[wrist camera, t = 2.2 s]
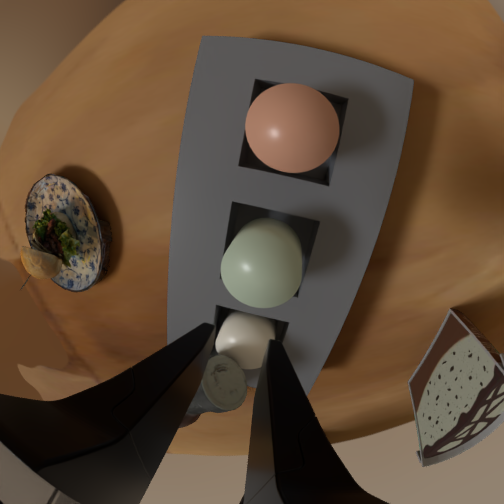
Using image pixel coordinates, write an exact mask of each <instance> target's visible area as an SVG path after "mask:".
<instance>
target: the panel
mask: <svg viewBox="0 0 504 504" xmlns="http://www.w3.org/2000/svg"><path fill="white" fill-rule="evenodd" d="M286 83H296V84H302V85H306V86H309V87H311V88H313V89H315V90H317V91H318V92H320V93H321V94H322V95H324V96H325V97H326V98H327V99H328V101H329V102H330V103H331V104H332V106H333V108H334V109H335V112H336V114H337V117H338V121H339V138H338V142H337V145H336V147H335V149H334V151H333V153H332V154H331V155H330V157H329V158H328V159H327V160H326V161H325V162H324V163H322V164H321V165H319V166H318V167H316V168H314V169H312V170H309V171H305V172H300V173H288V172H282V171H279V170H276V169H274V168H271V167H270V166H268V165H266V164H265V163H263V162H262V161H261V160H260V159H259V158H258V157H257V156H256V155H255V153H254V152H253V151H252V149H251V147H250V145H249V143H248V140H247V137H246V131H245V123H246V117H247V113H248V110H249V108H250V106H251V105H252V103H253V102H254V100H255V99H256V98H257V97H258V96H259V95H260V94H261V93H262V92H264V91H265V90H267V89H269V88H271V87H273V86H276V85H280V84H286ZM413 85H414V80H412V79H410V78H408V77H405V76H403V75H401V74H398V73H396V72H393V71H390V70H388V69H385V68H382V67H379V66H377V65H374V64H371V63H368V62H365V61H362V60H358V59H355V58H352V57H348V56H345V55H341V54H337V53H333V52H329V51H325V50H321V49H317V48H312V47H307V46H302V45H297V44H291V43H285V42H278V41H271V40H263V39H254V38H242V37H226V36H202V39H201V43H200V47H199V51H198V55H197V60H196V64H195V69H194V73H193V78H192V83H191V87H190V92H189V98H188V103H187V108H186V114H185V120H184V126H183V132H182V138H181V145H180V152H179V159H178V167H177V175H176V183H175V192H174V202H173V212H172V224H171V237H170V252H169V271H168V302H167V345H168V344H170V343H172V342H173V341H175V340H176V339H178V338H180V337H181V336H183V335H184V334H186V333H188V332H189V331H191V330H192V329H194V328H196V327H197V326H199V325H200V324H202V323H204V322H206V323H210V324H214V325H215V326H216V331H215V338H214V345H213V348H212V351H211V354H210V357H211V356H214V355H219V354H218V352H217V350H216V339H217V337H218V334H219V332H220V329H221V327H222V325H223V322H224V320H225V317H226V315H227V313H228V311H229V310H230V309H235V310H239V311H243V312H247V313H251V314H255V315H259V316H263V317H268V318H272V319H276V321H277V331H276V338H275V340H279V341H281V342H282V344H283V346H284V348H285V350H286V352H287V354H288V357H289V359H290V361H291V363H292V365H293V368H294V370H295V372H296V374H297V376H298V378H299V381H300V383H301V385H302V387H303V389H304V391H305V393H306V396H307V395H308V393H309V392H310V390H311V388H312V386H313V384H314V382H315V381H316V379H317V377H318V375H319V373H320V371H321V369H322V367H323V365H324V363H325V361H326V359H327V357H328V355H329V353H330V351H331V349H332V347H333V345H334V343H335V341H336V339H337V337H338V335H339V332H340V330H341V328H342V326H343V324H344V321H345V319H346V317H347V315H348V312H349V310H350V308H351V305H352V303H353V301H354V298H355V296H356V293H357V291H358V289H359V286H360V283H361V281H362V278H363V276H364V273H365V271H366V268H367V265H368V263H369V260H370V257H371V254H372V252H373V249H374V246H375V243H376V240H377V237H378V234H379V231H380V228H381V225H382V222H383V218H384V215H385V212H386V209H387V205H388V202H389V198H390V195H391V191H392V188H393V184H394V180H395V176H396V173H397V169H398V164H399V160H400V156H401V152H402V147H403V142H404V138H405V133H406V128H407V122H408V117H409V111H410V105H411V99H412V92H413ZM259 218H274V219H278V220H280V221H283V222H284V223H286V224H288V225H289V226H290V227H291V228H292V229H293V230H294V231H295V232H296V234H297V235H298V237H299V240H300V243H301V248H302V279H301V283H300V286H299V288H298V290H297V292H296V293H295V294H294V296H293V297H292V298H291V299H289V300H288V301H287V302H285V303H283V304H281V305H279V306H276V307H271V308H256V307H252V306H248V305H246V304H244V303H242V302H240V301H239V300H237V299H236V298H235V297H233V296H232V295H231V294H230V292H229V291H228V290H227V288H226V287H225V285H224V283H223V280H222V276H221V262H222V259H223V256H224V254H225V252H226V251H227V249H228V247H229V246H230V244H231V243H232V241H233V240H234V238H235V237H236V235H237V234H238V232H239V231H240V229H241V228H242V227H243V226H244V225H246V224H247V223H248V222H250V221H252V220H255V219H259ZM260 370H261V367H260V368H257V369H242V371H243V372H244V374H245V377H246V381H247V386H249V387H254V388H257V383H258V379H259V375H260Z"/></svg>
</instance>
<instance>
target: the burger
mask: <svg viewBox="0 0 504 504" xmlns="http://www.w3.org/2000/svg"><path fill="white" fill-rule="evenodd" d="M25 212H26V217H25V223H26V233H27V237H28V240H29V243H30V246H31V248H28V247H24V246H22V248H21V260H22V263H23V265H24V267H25V269H26V270H27V272H28V273H29V274H30V276H31V275H32V276H33V277H35V278H38V279H49V278H51V280H53V281H54V283H56V284H57V285H59V286H60V287H62V288H63V289H65V290H68V291H72V292H82V291H85V290H88V289H89V288H91V287H92V286H93V285H95V284H97V283H98V282H99V281H101V280H102V279H103V278H104V276H105V275H106V274H107V272H106V271H107V267H108V266H107V267H106V263H107V265H108V263H109V261H110V259H109V258H110V257H109V256H108V255H109V247H110V241H112V238H111V235H112V234H111V233H112V232H110V230H111V228H110V224H109V223H108V222H104V221H100V220H99V218H98V216H97V213H96V212H95V208H94V206H93V205H92V203H91V200H90V199H89V197H87V196H86V195H85V194H84V193H83V192H82V191H80V190H79V188H78V187H77V185H76V184H75V183H74V182H72V181H70V180H69V179H67V178H65V177H63V176H58V175H54V174H47V175H46V176H44V177H43V178H42V179H40V180H39V181H38V182H36V183H35V184H34V185H33V187H32V189H31V190H30V191H29V193H28V196H27V199H26V204H25ZM108 257H109V258H108ZM108 259H109V260H108ZM109 267H110V266H109ZM103 271H104V272H103ZM102 272H103V273H102ZM105 272H106V273H105ZM102 274H103V275H102ZM30 276H29V277H30ZM29 277H28V279H29ZM28 279H27V280H26V282H27V281H28ZM26 282H25V283H24V285H25V284H26ZM24 285H23V286H24ZM23 286H22V287H23ZM21 289H22V288H21Z"/></svg>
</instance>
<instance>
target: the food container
mask: <svg viewBox="0 0 504 504" xmlns="http://www.w3.org/2000/svg"><path fill="white" fill-rule="evenodd" d="M408 386H409V391H410V395H411V400H412V405H413V410H414V416H415V421H416V427H417V433H418V440H419V447H420V451H416V454H417V456H418V459H419V462H421V463H422V467H425V466H429V465H433V464H437V463H439V462H442V461H445V460H448V459H450V458H452V457H455V456H457V455H458V454H461V453H462V452H464V451H466V450H468V449H470V448H471V447H473V446H474V445H476V444H477V443H479V442H480V441H482V440H483V439H484V438H486V437H487V436H488V435H490V434H491V433H492V432H493V431H494V430H495V429H496V428H498V427H499V426H500V425H501V424H502V423H503V422H504V354H503V353H501V354H499V353H498V351H497V350H496V349H495V348H494V347H493V346H492V344H491V343H490V342H489V341H488V340H487V339H486V338H485V336H484V335H483V334H482V333H481V332H480V331H479V330H478V329H477V328H476V327H475V326H474V324H473V323H472V322H471V321H470V320H469V319H468V318H467V317H466V316H465V315H464V314H463V313H461V312H460V311H458V310H455V309H451V308H450V309H449V311H448V313H447V315H446V317H445V319H444V321H443V323H442V325H441V327H440V329H439V331H438V333H437V335H436V337H435V338H434V340H433V342H432V344H431V346H430V347H429V349H428V351H427V352H426V354H425V356H424V357H423V359H422V361H421V362H420V364H419V366H418V367H417V369H416V370H415V372H414V373H413V375H412V376H411V378H410V379H409V381H408Z"/></svg>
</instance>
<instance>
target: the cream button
mask: <svg viewBox="0 0 504 504" xmlns="http://www.w3.org/2000/svg"><path fill="white" fill-rule="evenodd" d="M276 331H277V321H276V319H272V318H268V317H263V316H259V315H255V314H251V313H247V312H243V311H239V310H235V309H230V310H229V311H228V313H227V315H226V317H225V320H224V322H223V325H222V327H221V329H220V332H219V334H218V337H217V339H216V350H217V352H218V354H219V355H223V356H227V357H229V358H231V359H233V360H234V361H235V362H237V364H238V365H239V366H240V368H241V369H257V368H260V367H261V366H262V361H263V357H264V354H265V351H266V348H267V344H268V341H269V340H270V339H274V340H275V338H276Z"/></svg>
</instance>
